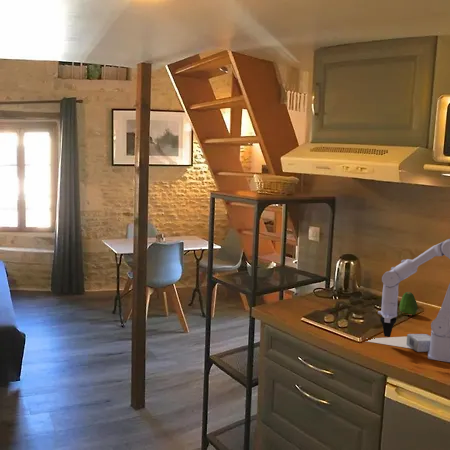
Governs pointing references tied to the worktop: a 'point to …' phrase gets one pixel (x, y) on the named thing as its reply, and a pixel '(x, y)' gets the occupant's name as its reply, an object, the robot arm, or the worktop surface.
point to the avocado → (408, 303)
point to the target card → (392, 341)
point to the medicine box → (419, 342)
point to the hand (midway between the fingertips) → (387, 336)
